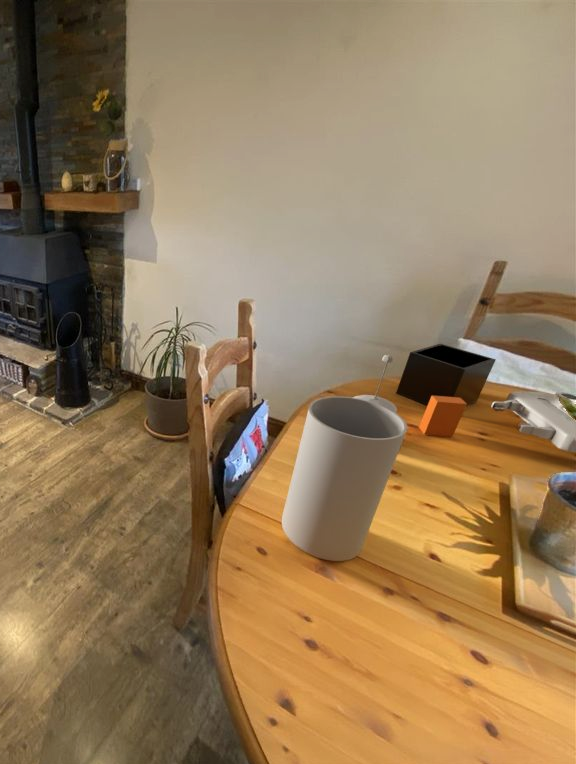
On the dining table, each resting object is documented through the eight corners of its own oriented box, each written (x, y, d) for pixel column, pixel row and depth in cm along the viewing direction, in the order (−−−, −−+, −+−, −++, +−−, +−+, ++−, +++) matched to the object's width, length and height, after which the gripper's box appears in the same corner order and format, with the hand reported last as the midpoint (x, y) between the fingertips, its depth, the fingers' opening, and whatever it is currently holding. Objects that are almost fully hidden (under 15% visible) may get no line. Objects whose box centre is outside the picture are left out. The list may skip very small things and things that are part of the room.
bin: (476, 402, 110) (496, 359, 104) (446, 414, 106) (465, 369, 100) (424, 383, 120) (440, 343, 114) (395, 393, 116) (410, 352, 110)
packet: (446, 430, 100) (460, 397, 96) (452, 437, 97) (467, 404, 93) (418, 427, 101) (431, 395, 97) (424, 434, 99) (437, 401, 95)
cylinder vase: (361, 524, 76) (403, 406, 65) (360, 575, 67) (410, 449, 55) (285, 501, 82) (312, 390, 71) (275, 545, 73) (305, 425, 62)
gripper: (619, 464, 82) (530, 455, 86) (547, 412, 99) (475, 406, 103) (637, 437, 79) (544, 429, 83) (560, 388, 96) (485, 383, 100)
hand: (505, 416), depth 93 cm, fingers open, 8 cm apart
